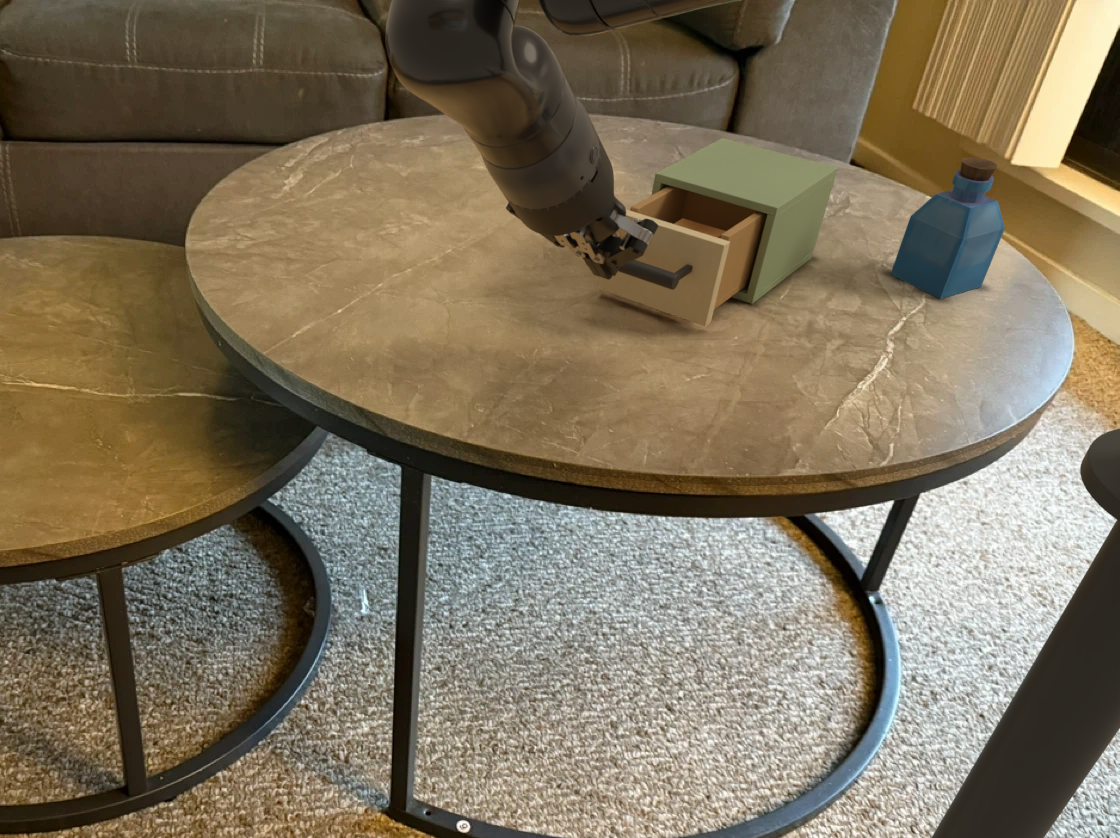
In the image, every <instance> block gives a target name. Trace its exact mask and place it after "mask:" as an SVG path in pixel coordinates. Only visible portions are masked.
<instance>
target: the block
mask: <svg viewBox="0 0 1120 838" xmlns="http://www.w3.org/2000/svg"><path fill="white" fill-rule="evenodd" d="M674 224H675V225H678V226H681V227H684V228H688V229H691V230H694V231H697V232H701V233H704V234H707V235H710V236H714V237H717V238H721V234H723V233H725V232H726V231H724V230H720V229H717V228H714V227H710V226H707V225H704V224H700V223H697V222H694V221H690V220H687V219H684V218H682V219H681V220H679V221H677V222H676V223H674Z"/></svg>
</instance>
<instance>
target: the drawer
mask: <svg viewBox="0 0 1120 838" xmlns="http://www.w3.org/2000/svg"><path fill="white" fill-rule="evenodd" d="M767 215H768V214H766V213H763V212H759V211H756V210H752V209H749V208H745V207H742V206H739V205H735V204H732V203H728V202H725V201H721V200H718V199H714V198H711V197H708V196H704V195H701V194H697V193H694V192H690V191H687V190H683V189H680V188H677V187H673V186H668V187H666V188H664V189H662V190H661V191H659V192H657V193H655V194H653V195H652V194H651V195H650V196H648V197H646V198H645V199H642V200H641V201H639V202H637V203H635V204H633V205H632V206H630V210H629V209H626V216H625V217H627V218H629V219H630V220H632V221H633V220H634V219H638V220H639V221H642V220H643V219H650V220H653V221H654V222H655V223H657V224H658V228H657V230H656V232H655V234H654V236H653V238H652V240H651V241H650V243H649V245H648V247H647V249H646V251H645V252H644V254H643V256H641V257H639V258H637V259H635V260H633V261H631V262H629V263H627V264H625V265H623V266H621V267H620V268H619V270H618V272H617V273H616V275H615V276H612V278H611V279H610V280H608V279H605V278H602V277H599V281H598V287H597V288H598V289H599V290H602V291H605V292H607V293H610V294H612V295H614V296H618V297H621V298H624V299H627V300H629V301H631V302H632V301H633V302H635V303H637V304H641V305H644V306H647V307H649V308H652V309H654V310H657V311H661V312H663V313H666V314H669V315H671V316H675V317H678V318H680V319H684V320H686V321H689V322H691V323H694V324H697V325H700V326H702V327H706V326H708V325H709V324H710V323H711V322H712V318H713V316H714V311H715V310H716V308H719V307H720V306H721V305H722V304H724V303H725V302H726V301H728V300H729V299H731V298H733V297H732V296H733V295H734V294H736V293H737V292H738V291H740V290H741V289H742V288H744V287H745V286H746V285H748V284H749V283H750V280H751V276H752V272H753V268H754V264H755V260H756V256H757V253H758V249H759V245H760V241H761V237H762V233H763V230H764V226H765V222H766V218H767ZM682 218H684V219H687V220H690V221H694V222H697V223H700V224H704V225H707V226H710V227H714V228H717V229H720V230H724V231H726V232H725V233H723V234H721V238H717V237H714V236H710V235H707V234H704V233H701V232H697V231H694V230H691V229H688V228H684V227H681V226H678V225H675V224H674V223H676V222H677V221H679V220H681V219H682ZM616 233H617V236H618V237H619V236H620V233H619V232H618V231H617V232H616Z"/></svg>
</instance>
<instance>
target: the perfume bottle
mask: <svg viewBox="0 0 1120 838" xmlns="http://www.w3.org/2000/svg"><path fill="white" fill-rule="evenodd" d="M997 168H998V164H997V163H996V162H995V161H992V160H990V159H986V158H981V157H964V158H962V159H961V164H960V169H958V170H957V171H956V172H955V173H954V176H953V179H952V181H951V183H952V185H953V187H952V189H950V190H945V191H941V192H937V193H935V194H934V195H933V196H932V197H930V198H929V199H928V200H927V201H926V202H924V203H923V204H922V205H921V206H920V207H919V208H918V209H917V210H916V211H915V212H914V213H912V214H911V215H910V216H909V219H908V223H907V225H906V229H905V231H904V233H903V237H902V240H901V242H900V244H899V245H900V246H899V248H898V251H897V254H896V257H895V260H894V263H893V267H892V268H891V271H890V275H891V276H893V277H895V278H897V279H899V280H901V281H903V282H905V283H907V284H909V285H911V286H913V287H915V288H918V289H919V290H921V291H924V292H926V293H928V294H930V295H932V296H934V297H935V298H938V299H940V300H942V299H945V298H949V297H952V296H955V295H959V294H961V293H965V292H969V291H972V290H975V289H979V288H981V287H982V286H983V284H984V281H985V278H986V277H987V274H988V271H989V269H990V266H991V264H992V261H993V259H994V256H995V254H996V251H997V249H998V246H999V244H1000V241H1001V239H1002V237H1003V234H1004V232H1005V229H1006V226H1005V223H1004V220H1003V219H1004V218H1003V216H1002V211H1001V208H1000V204H999V201H998V200H996V199H993V198H991V197H988V196H985V195H986V193H987V192H990V191H991V189H992V187H993V184H994V181H995V178H994V177H993V174H994V173H995V171H996V170H997Z"/></svg>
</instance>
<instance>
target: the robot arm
mask: <svg viewBox="0 0 1120 838" xmlns="http://www.w3.org/2000/svg"><path fill="white" fill-rule="evenodd" d="M742 1H743V0H538V3H539V5H540V7H541V10H542V12H543V14H544V16H545V17H546V18H547V20H548V21H549V22H550V24H551V25H552V26H553V27H554V29H556V30H557V31H559V32H561V33H563V34H565V35H567V36H571V37H588V36H596V35H599V34H605V33H608V32H612V31H617V30H621V29H624V28H628V27H632V26H637V25H641V24H645V23H650V22H653V21H657V20H661V19H665V18H666V19H667V18H670V17H675V16H678V15H681V14H685V13H691V12H693V11H697V10H701V9H705V8H711V7H715V6H720V5H725V4H730V3H736V2H742ZM519 5H520V0H391V1H390V6H389V9H388V15H387V18H386V19H387V20H386V25H385V37H384V38H385V39H384V40H385V48H386V49H385V50H386V53H387V57H388V60H389V64H390V65H391V68H392V71H393V72H394V74H395V76H396V78H397V79H398V81H399V83H400V84H401V85H402V87H404V88H405V89H406V90H407V91H409V93H411V94H413V95H414V96H416V97H418V98H419V99H421V100H423V101H424V102H426V103H427V104H429V105H431V106H432V107H433V108H435V109H437V110H438V111H440V112H441V113H443V115H445V116H447V117H448V118H450V119H451V120H453V121H454V122H456V123H457V124H460V126H462V128H463V130H464V131H465V132H466V134H467V136H468V137H469V139H470V140H471V142H472V143H473V145H474V147H475V148H476V150H477V151H478V152H479V154H480V156H481V158H482V161H483V163H484V165H485V168H486V169H487V172H488V174H489V175H490V177H491V179H492V180H493V181H494V183H495V184H496V186H497V188H498V189H499V190H500V192H501V193H502V194H503V196H504V198H505V199H506V200H507V202H508V203H507V204H506V207H505V209H506V211H507V212H508V213H509V214H510V215H512V216H514V217H515V218H517V219H518V220H519V221H521V222H522V224H523V225H524V226H525V227H526V228H527V229H529V230H531V231H532V232H534V233H537V234H538V235H541V236H542V237H544V238H545V239H547V240H548V241H549V242H551V243H552V244H553V246H555V247H557V248H562V249H563V248H565V247H567V248H569V249H570V250H571V253H573V254H574V255H575V256H576V257H578V258H582V260H583V261H584V263H585V264H586V265H587V266H588V268H589V271H591V273H592V275H593V276H597V277H599V278H600V277H602V278H605V279H608V280H610V279H611V278H612V276H615V275H616V273H617V272H618V270H619V268H620V267H621V266H623V265H625V264H627V263H629V262H631V261H633V260H635V259H637V258H639V257H641V256H643V254H644V252H645V251H646V249H647V247H648V245H649V243H650V241H651V240H652V238H653V236H654V234H655V232H656V230H657V228H658V224H657V223H655V222H654V221H653V220H650V219H643V220H642V221H639V220H638V219H634V220H633V221H632V220H630V219H629V218H627V217H625V216H626V210H627V209H626V206H625V205H624V203H622V201H620V200H619V199H618V198H617V197H616V195H615V175H614V167H613V165H612V162H611V159H610V158H609V156H608V153H607V151H606V149H605V147H604V145H603V143H602V140H601V139H600V137H599V135H598V132H597V130H596V128H595V126H594V123H593V121H592V120H591V117H590V115H589V113H588V111H587V110H586V107H585V106H584V104H583V103H582V101H581V100H580V99H579V98H578V97H577V95H576V94H575V92H574V91H573V89H572V88H571V85H570V83H569V80H568V79H567V77H566V75H565V73H564V70H563V68H562V66H561V64H560V62H559V60H558V58H557V56H556V54H555V53H554V51H553V50H552V48H551V46H549V44H548V43H547V41H546V40H545V39H544V38H543V37H542V36H541V35H540V34H538V33H537V31H534V30H532V29H531V28H528V27H526V26H523V25H517V24H516V21H517V15H518V10H519ZM617 231H618V232H619V233H620V236H619V237H618V236H617V233H616V232H617Z"/></svg>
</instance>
